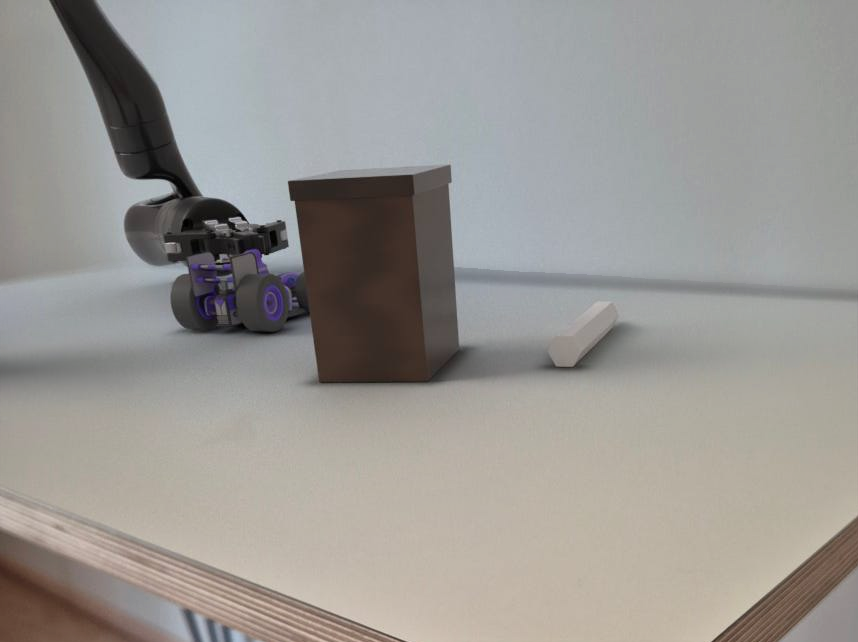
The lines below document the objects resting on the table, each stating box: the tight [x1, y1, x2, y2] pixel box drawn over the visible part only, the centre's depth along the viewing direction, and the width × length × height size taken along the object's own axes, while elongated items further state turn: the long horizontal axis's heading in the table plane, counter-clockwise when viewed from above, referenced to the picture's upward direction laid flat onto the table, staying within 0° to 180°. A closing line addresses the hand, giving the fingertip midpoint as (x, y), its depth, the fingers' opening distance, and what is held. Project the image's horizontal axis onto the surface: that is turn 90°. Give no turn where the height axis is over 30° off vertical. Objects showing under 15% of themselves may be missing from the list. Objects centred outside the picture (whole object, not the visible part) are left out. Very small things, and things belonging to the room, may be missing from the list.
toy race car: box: [169, 249, 310, 333], centre depth 90 cm, size 10×15×6 cm, turn 157°
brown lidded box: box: [287, 164, 460, 383], centre depth 69 cm, size 9×10×13 cm
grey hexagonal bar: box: [547, 301, 620, 368], centre depth 74 cm, size 3×2×16 cm
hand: (253, 246), depth 89 cm, fingers closed
